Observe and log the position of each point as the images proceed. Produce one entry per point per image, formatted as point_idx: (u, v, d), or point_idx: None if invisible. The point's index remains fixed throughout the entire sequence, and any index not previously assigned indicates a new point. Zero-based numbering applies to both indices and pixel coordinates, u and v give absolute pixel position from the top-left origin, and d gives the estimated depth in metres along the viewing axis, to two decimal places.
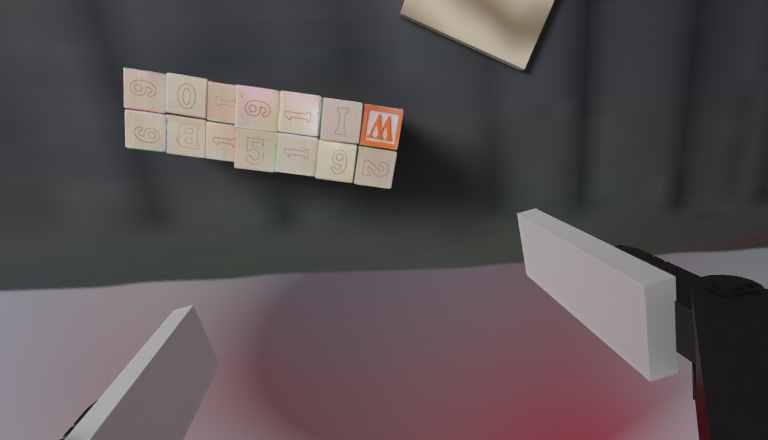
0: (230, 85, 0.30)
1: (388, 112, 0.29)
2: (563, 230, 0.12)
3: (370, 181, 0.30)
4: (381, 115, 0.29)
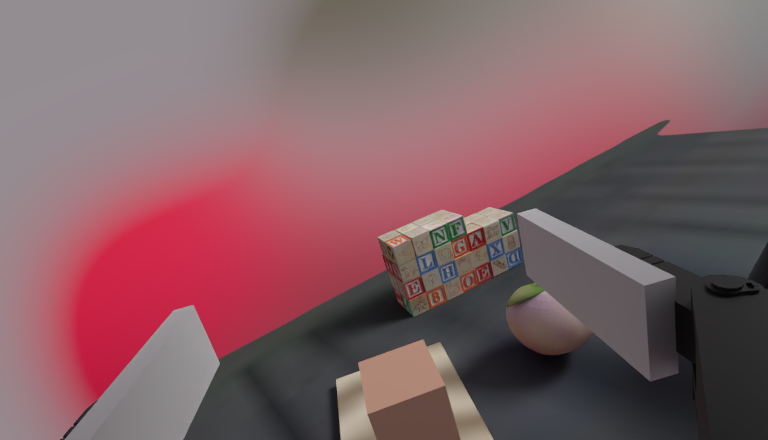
0: (473, 230, 0.59)
1: (398, 243, 0.55)
2: (563, 230, 0.12)
3: (387, 233, 0.60)
4: (400, 242, 0.55)
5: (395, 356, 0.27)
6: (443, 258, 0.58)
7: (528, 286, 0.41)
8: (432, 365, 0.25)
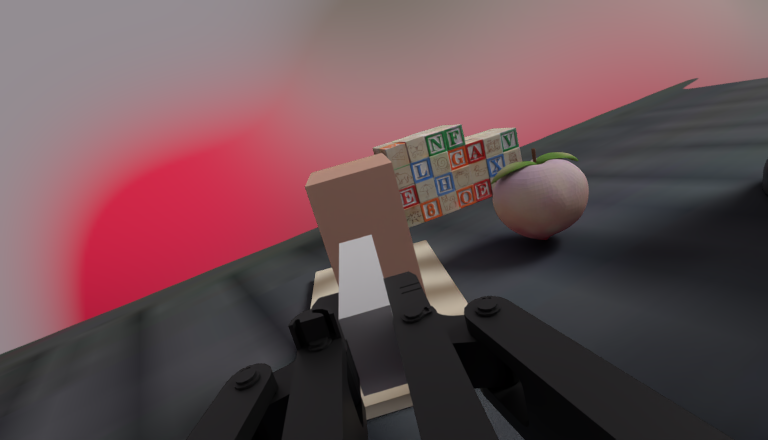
0: (472, 142, 0.57)
1: (392, 147, 0.53)
2: (367, 258, 0.14)
3: (383, 144, 0.58)
4: (394, 146, 0.53)
5: (350, 163, 0.25)
6: (439, 167, 0.56)
7: (516, 162, 0.39)
8: (384, 158, 0.23)
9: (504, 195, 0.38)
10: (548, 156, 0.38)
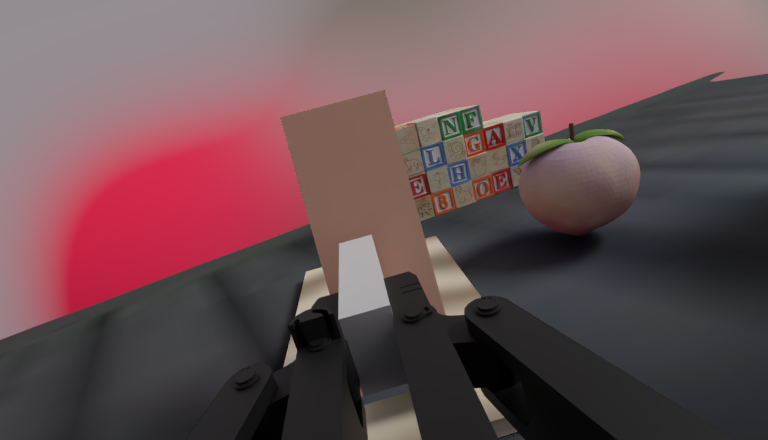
0: (491, 125, 0.50)
1: (400, 128, 0.46)
2: (367, 257, 0.14)
3: None
4: (402, 128, 0.47)
5: None
6: (453, 153, 0.49)
7: None
8: None
9: (535, 180, 0.31)
10: (589, 133, 0.31)
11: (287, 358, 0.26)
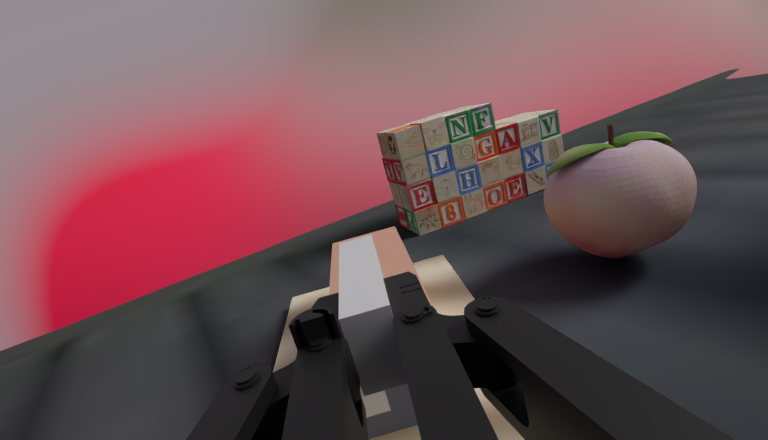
0: (504, 126, 0.44)
1: (402, 129, 0.41)
2: (367, 257, 0.14)
3: None
4: (405, 129, 0.41)
5: None
6: (463, 158, 0.43)
7: (583, 145, 0.26)
8: None
9: (567, 193, 0.25)
10: (632, 136, 0.26)
11: None
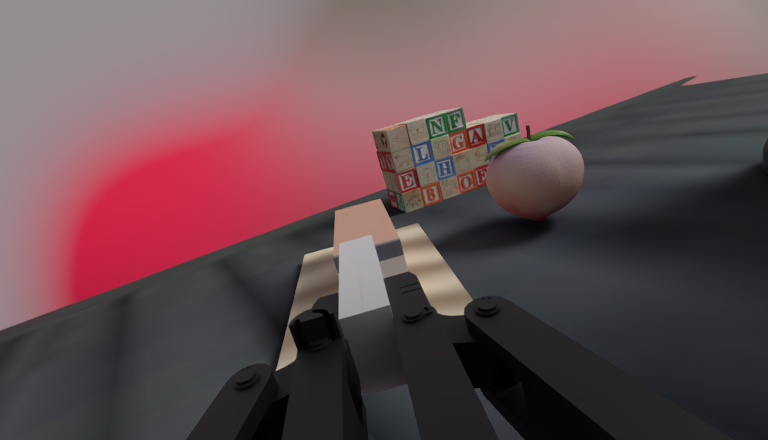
0: (473, 126, 0.56)
1: (392, 128, 0.52)
2: (367, 258, 0.14)
3: (383, 128, 0.57)
4: (394, 128, 0.52)
5: None
6: (440, 151, 0.55)
7: (510, 140, 0.38)
8: None
9: (497, 173, 0.37)
10: (543, 133, 0.37)
11: (290, 317, 0.31)
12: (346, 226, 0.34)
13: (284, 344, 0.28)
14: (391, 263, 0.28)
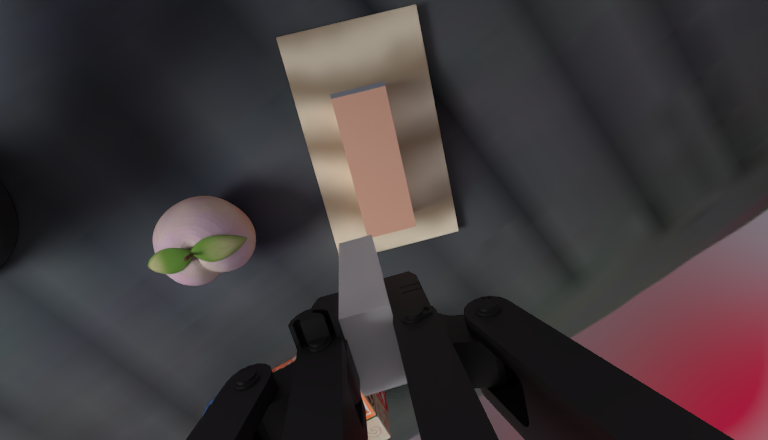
0: None
1: None
2: (367, 257, 0.14)
3: None
4: None
5: None
6: None
7: (211, 254, 0.34)
8: None
9: (238, 223, 0.36)
10: (174, 254, 0.34)
11: (432, 101, 0.40)
12: (389, 160, 0.36)
13: (425, 63, 0.39)
14: None
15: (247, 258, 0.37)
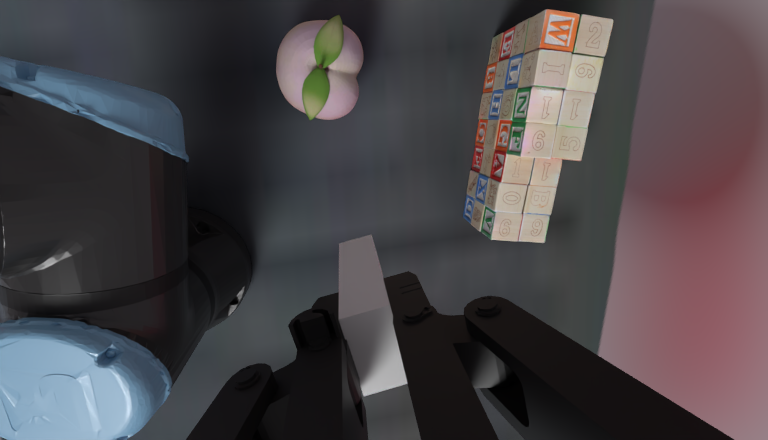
0: (504, 165, 0.38)
1: (547, 24, 0.32)
2: (367, 258, 0.14)
3: (604, 40, 0.33)
4: (549, 30, 0.32)
5: None
6: (505, 101, 0.38)
7: (331, 48, 0.33)
8: None
9: (323, 20, 0.35)
10: (312, 79, 0.34)
11: None
12: None
13: None
14: None
15: (359, 41, 0.36)
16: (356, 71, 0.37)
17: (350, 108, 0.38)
